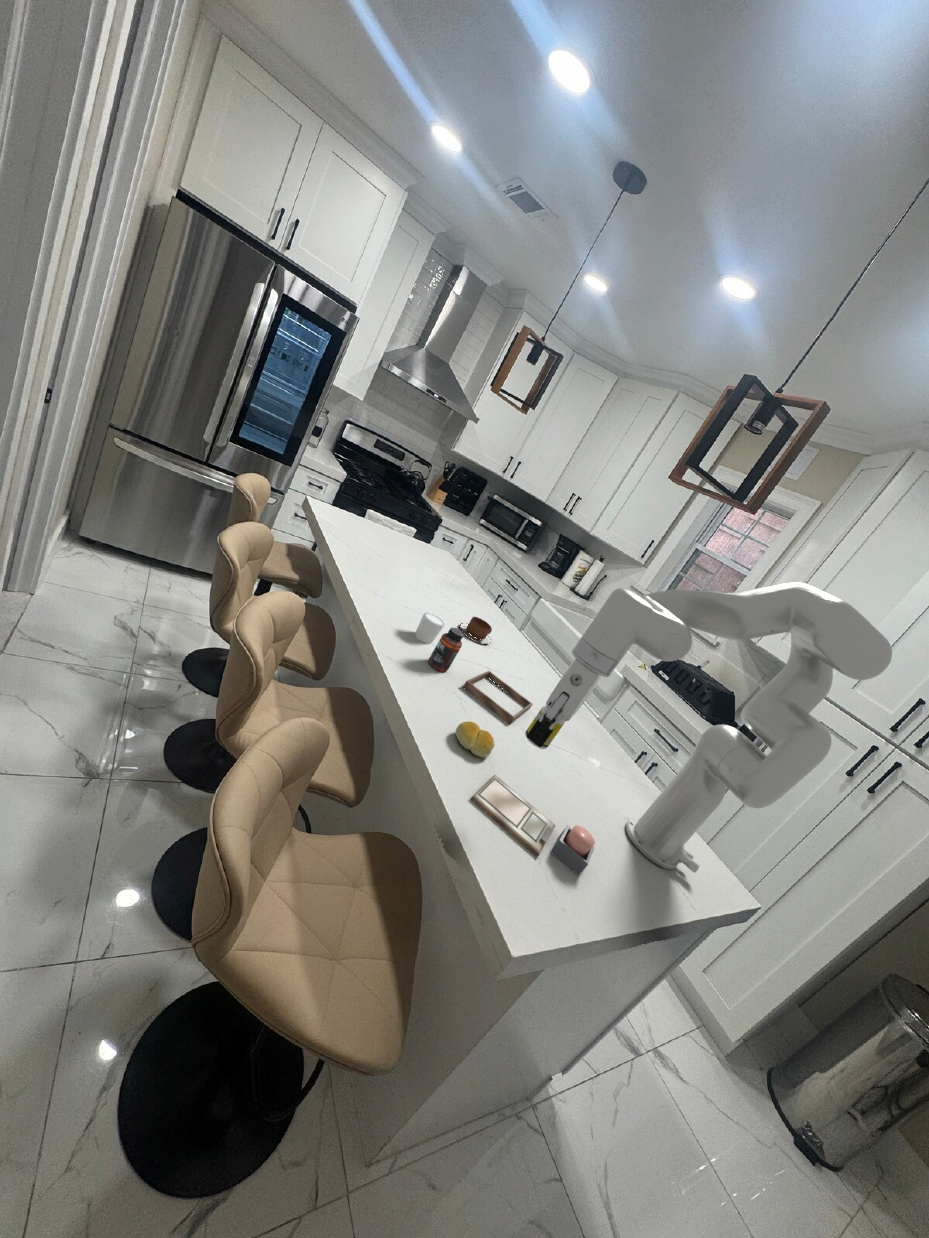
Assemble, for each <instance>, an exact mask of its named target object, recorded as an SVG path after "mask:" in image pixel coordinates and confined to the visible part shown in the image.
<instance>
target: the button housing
mask: <svg viewBox="0 0 929 1238" xmlns="http://www.w3.org/2000/svg"><path fill="white" fill-rule="evenodd" d="M572 829H573V828H571V827H570V826H569V825H566V827H565V828H564V829H563V830H562V831H561V833H560V834H559V835H558V837H557V839H556V841H555V843H554V845H553V847H552V848H551V851H550V853H551V855H553V856H555V857H556V858H557V859H558V860H559V861H561V862H562V863H563V864H564V865H565V866H566V867H567V868H568V869H570V871H572V872H573V873H575V874H576V875H577V876H578V877H579V876H580V875H581V874H582V873H583V871H584V870H585V869H586V867H587V866H588V865H589V863H590V860H591V858H592V855H593V852H594V851H595V846H593V847H592V848H591V849H590V850H589V852H588V853H587V854H586V855H585V857H583V858H582V857H581V856H580V855H579V854H578V853H576V852H575V851H574V850H573V849H572V848H570V847H569V846H568V845H567V844H566V843H565V838H566V837H567V835H568V834H569V833H570V831H571V830H572Z"/></svg>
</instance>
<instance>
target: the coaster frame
mask: <svg viewBox="0 0 929 1238" xmlns="http://www.w3.org/2000/svg"><path fill="white" fill-rule="evenodd" d="M485 677H486V678H487V677H488V678H490V679H491V680H492V681H494V682H495V683H496V684H498V685H499V686H500V687H501V688H503V689H502V690H503V692H505V691H506V692H505V693H507V694H508V695H510V697H512V698H513V699H514V700H516V701H517V702H518V703H520V704H521V705H522V706H524V707H523V708H522V709H521V710H519V711H518V712H517V713H516V714H514V715H513V714H511V713H510V712H509V711H507V710H506V709H505V708H504V707H502V706H501V705H500V704H499V703H497V702H496V701H495V700H493V699H492V698H491V697H490V696H489V695H487V694H486V693H484V692H483V691H482V690H481V689H480V688H478V687H477V686H475V684H476V682H477V683H478V682H480V681H482V680H484V679H486V678H485ZM483 678H484V679H483ZM488 678H487V679H488ZM490 679H489V680H490ZM491 680H490V681H491ZM492 681H491V682H492ZM474 683H475V684H474ZM495 683H494V684H495ZM496 684H495V685H496ZM499 686H498V687H499ZM500 687H499V688H500ZM462 688H463V689H464V688H465V689H466V690H465V689H464V690H465V691H466V692H468V691H469V692H468V693H469V694H470V695H471V696H473V697H474V698H475V699H476V700H478V701H479V702H481V704H483V705H484V706H485V707H487V708H488V709H489V708H490V709H489V710H490V711H492V712H493V713H494V714H496V715H497V716H498V717H499V718H501V719H502V720H503V721H505V722H506V723H507V724H509V725H512V724H513V723H515V721H517V720H519V718H520V717H522V716H523V715H524V714H526V713H527V711H529V710H530V709H531V708H532V706H533V705H534V704H533V703H532V701H530V700H528V698H526V697H524V696H523V695H522V694H521V693H520V692H518V691H517V690H515V689H514V688H513V687H512V686H510V685H508V684H507V683H506V682H505V681H503V680H502V679H500V678H499V677H498V676H497V675H496V674H494V673H493V672H492V671H490V670H487V671H485V672H482V673H480V674H478V675H476V676H475V677H474V676H473V677H472V678H469V679H468V680H465V682H464V683H463V686H462ZM501 688H500V689H501Z"/></svg>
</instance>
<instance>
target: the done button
mask: <svg viewBox="0 0 929 1238" xmlns="http://www.w3.org/2000/svg"><path fill="white" fill-rule="evenodd" d="M571 829H572V830H571V831H570V833H569V834H568V835H567V837H566V838H565V843H566V844H567V845H568V846H569V847H570V848H572V849H573V850H574V851H575V852H576V853H578V854H579V855H580V856H581V857H582V858H583V857H585V855H586V854H587V853H588V852H589V850H590V849H591V848H592V847H595V843H596V842H595V838H594V837H593V835H592V834H591V833H590V832H589V830H587V829H586V828H584V827H583V826H581V825H574V826H573V827H572V828H571Z"/></svg>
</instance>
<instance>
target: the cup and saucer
mask: <svg viewBox="0 0 929 1238" xmlns="http://www.w3.org/2000/svg"><path fill="white" fill-rule="evenodd" d="M463 623H464V622H461V623H459V629H460V628H461V630H462V631H463V633H465V634H466V635H467V636H468V637H470V638H472V639H473V640H476V639H474V638H473V637H476V638H477V639H481V640H476V641H477V642H479V643H484V644H488V642H487V643H485V642H482V641H483V640H486V636H488V635H490V634H491V633H492V631H493V628H492V626H491V624H489V623H488V622H487V621H486V620H484V619H482V618H481V617H478V616H472V617H471V619H470V621H469V622H467V623H466V622H465V623H466V624H468V626H467V627H466V628H465V629H466V630H467V631H468V633H470V634H471V635H472V636H473V637H471V636H470V635H469V634H468V633H467V631H466V632H465V631H464V629H462V627H460V626H461V624H463ZM461 630H460V631H461ZM462 631H461V632H462ZM467 636H466V637H467ZM468 637H467V638H468ZM482 639H483V640H482ZM473 640H472V641H473ZM490 640H491V642H490V644H491V643H492V639H491V638H490ZM477 642H476V643H477ZM479 643H478V644H479Z"/></svg>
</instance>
